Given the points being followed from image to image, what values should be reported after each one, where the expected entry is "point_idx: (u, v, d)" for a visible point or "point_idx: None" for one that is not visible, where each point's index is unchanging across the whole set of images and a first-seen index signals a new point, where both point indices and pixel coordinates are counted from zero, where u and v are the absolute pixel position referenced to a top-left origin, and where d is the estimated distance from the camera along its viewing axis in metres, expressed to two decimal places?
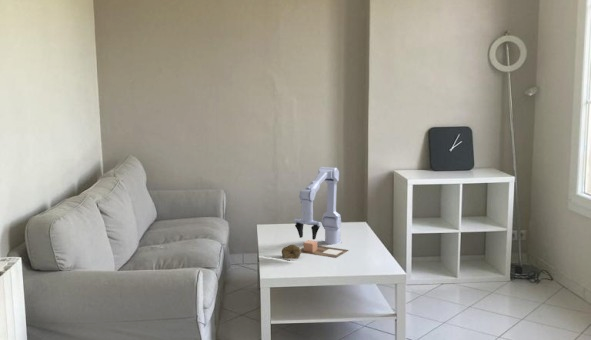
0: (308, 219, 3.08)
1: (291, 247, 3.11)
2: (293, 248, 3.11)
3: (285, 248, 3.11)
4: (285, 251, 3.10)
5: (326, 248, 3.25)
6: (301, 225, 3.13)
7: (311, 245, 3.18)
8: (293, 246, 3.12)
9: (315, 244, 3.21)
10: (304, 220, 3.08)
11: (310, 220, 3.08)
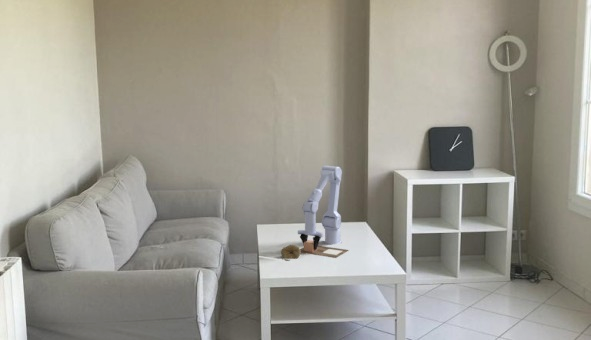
0: (311, 230, 3.18)
1: (290, 247, 3.11)
2: (293, 248, 3.11)
3: (285, 248, 3.11)
4: (285, 251, 3.10)
5: (326, 248, 3.25)
6: (306, 236, 3.23)
7: (311, 245, 3.18)
8: (293, 246, 3.11)
9: None
10: (307, 231, 3.18)
11: (313, 231, 3.18)
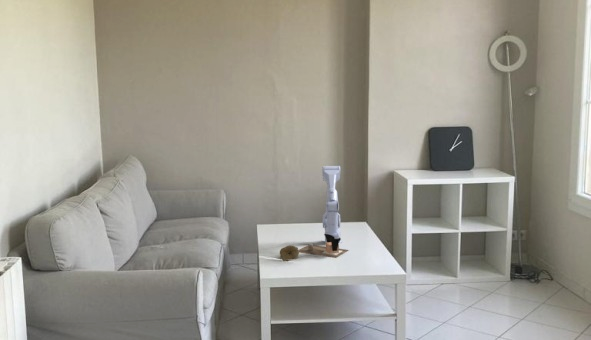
0: (329, 230, 3.14)
1: (289, 248, 3.10)
2: (291, 249, 3.10)
3: (283, 249, 3.10)
4: (283, 252, 3.09)
5: None
6: (330, 235, 3.20)
7: (328, 246, 3.14)
8: (291, 247, 3.11)
9: None
10: (327, 230, 3.15)
11: (331, 231, 3.13)
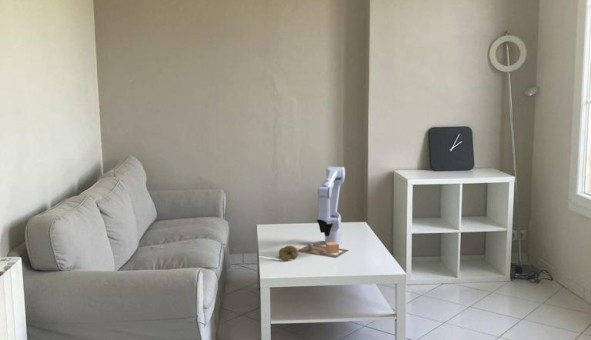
0: (321, 215, 3.18)
1: (288, 248, 3.10)
2: (290, 249, 3.09)
3: (282, 249, 3.10)
4: (282, 252, 3.09)
5: None
6: (323, 221, 3.25)
7: (328, 246, 3.14)
8: (290, 247, 3.10)
9: (335, 246, 3.15)
10: (319, 216, 3.20)
11: (323, 217, 3.18)
